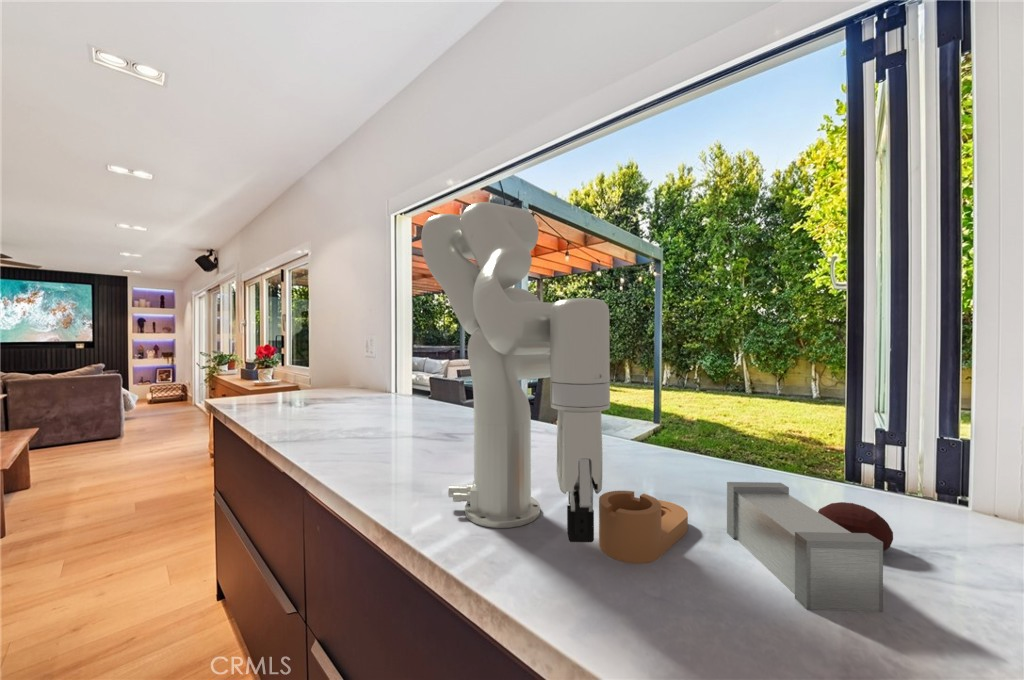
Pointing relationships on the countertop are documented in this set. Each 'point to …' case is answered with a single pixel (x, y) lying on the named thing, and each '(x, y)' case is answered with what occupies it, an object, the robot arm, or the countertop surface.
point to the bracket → (638, 526)
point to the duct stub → (806, 549)
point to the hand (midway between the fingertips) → (580, 538)
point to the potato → (859, 521)
